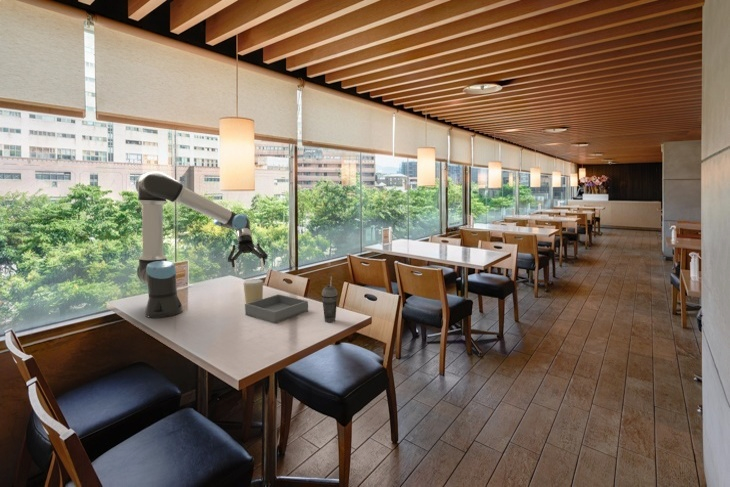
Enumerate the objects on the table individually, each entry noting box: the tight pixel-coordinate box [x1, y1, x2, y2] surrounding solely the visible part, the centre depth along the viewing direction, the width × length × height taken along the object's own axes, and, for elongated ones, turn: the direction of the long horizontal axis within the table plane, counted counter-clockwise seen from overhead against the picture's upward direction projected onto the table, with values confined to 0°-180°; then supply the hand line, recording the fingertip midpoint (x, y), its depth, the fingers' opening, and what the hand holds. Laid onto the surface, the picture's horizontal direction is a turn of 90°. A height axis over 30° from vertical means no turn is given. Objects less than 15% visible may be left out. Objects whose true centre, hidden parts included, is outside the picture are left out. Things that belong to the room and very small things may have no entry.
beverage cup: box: [320, 275, 339, 324], centre depth 162 cm, size 7×7×20 cm
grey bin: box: [244, 293, 309, 324], centre depth 173 cm, size 20×20×5 cm
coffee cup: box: [242, 278, 264, 304], centre depth 185 cm, size 9×9×12 cm
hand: (249, 270), depth 194 cm, fingers open, 13 cm apart
